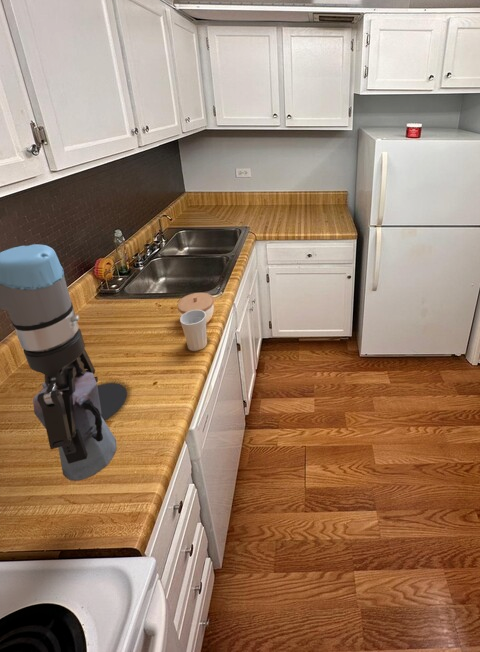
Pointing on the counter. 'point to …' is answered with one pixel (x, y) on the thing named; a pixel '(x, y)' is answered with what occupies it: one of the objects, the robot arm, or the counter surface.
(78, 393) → the moka pot
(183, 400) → the counter surface
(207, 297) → the lidded bowl
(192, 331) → the cup
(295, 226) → the counter surface
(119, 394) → the trivet
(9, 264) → the robot arm
